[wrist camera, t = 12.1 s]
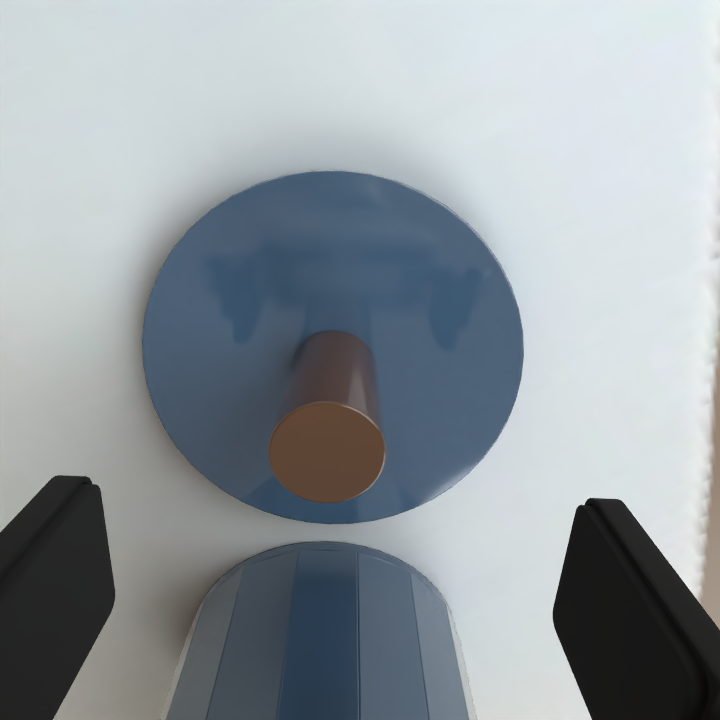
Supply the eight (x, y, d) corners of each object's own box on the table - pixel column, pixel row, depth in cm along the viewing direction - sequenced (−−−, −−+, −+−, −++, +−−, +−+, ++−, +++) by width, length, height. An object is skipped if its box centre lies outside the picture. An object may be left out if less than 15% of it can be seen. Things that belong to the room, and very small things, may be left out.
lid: (134, 157, 16) (13, 167, 10) (544, 179, 16) (647, 199, 11) (169, 500, 20) (99, 637, 15) (487, 511, 21) (538, 649, 15)
